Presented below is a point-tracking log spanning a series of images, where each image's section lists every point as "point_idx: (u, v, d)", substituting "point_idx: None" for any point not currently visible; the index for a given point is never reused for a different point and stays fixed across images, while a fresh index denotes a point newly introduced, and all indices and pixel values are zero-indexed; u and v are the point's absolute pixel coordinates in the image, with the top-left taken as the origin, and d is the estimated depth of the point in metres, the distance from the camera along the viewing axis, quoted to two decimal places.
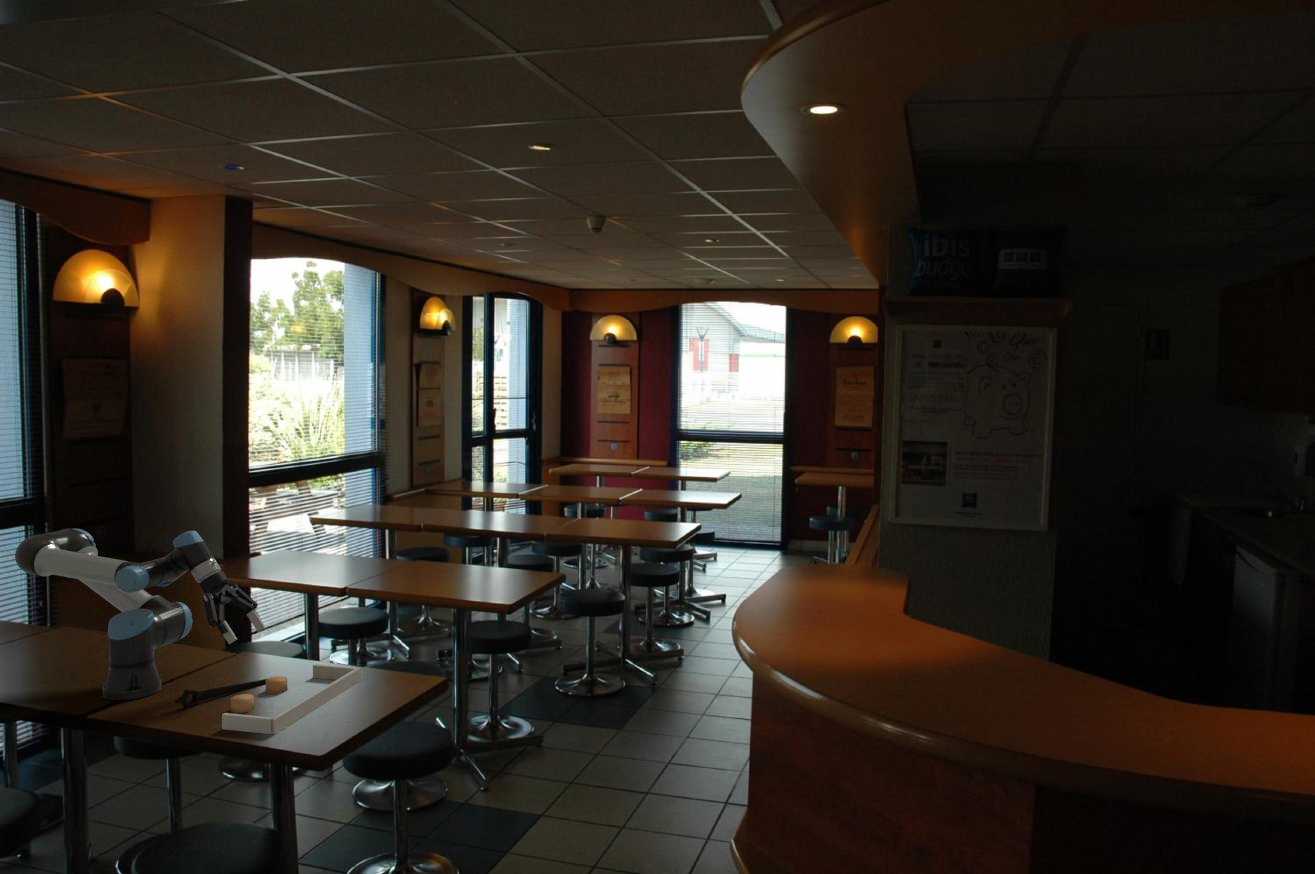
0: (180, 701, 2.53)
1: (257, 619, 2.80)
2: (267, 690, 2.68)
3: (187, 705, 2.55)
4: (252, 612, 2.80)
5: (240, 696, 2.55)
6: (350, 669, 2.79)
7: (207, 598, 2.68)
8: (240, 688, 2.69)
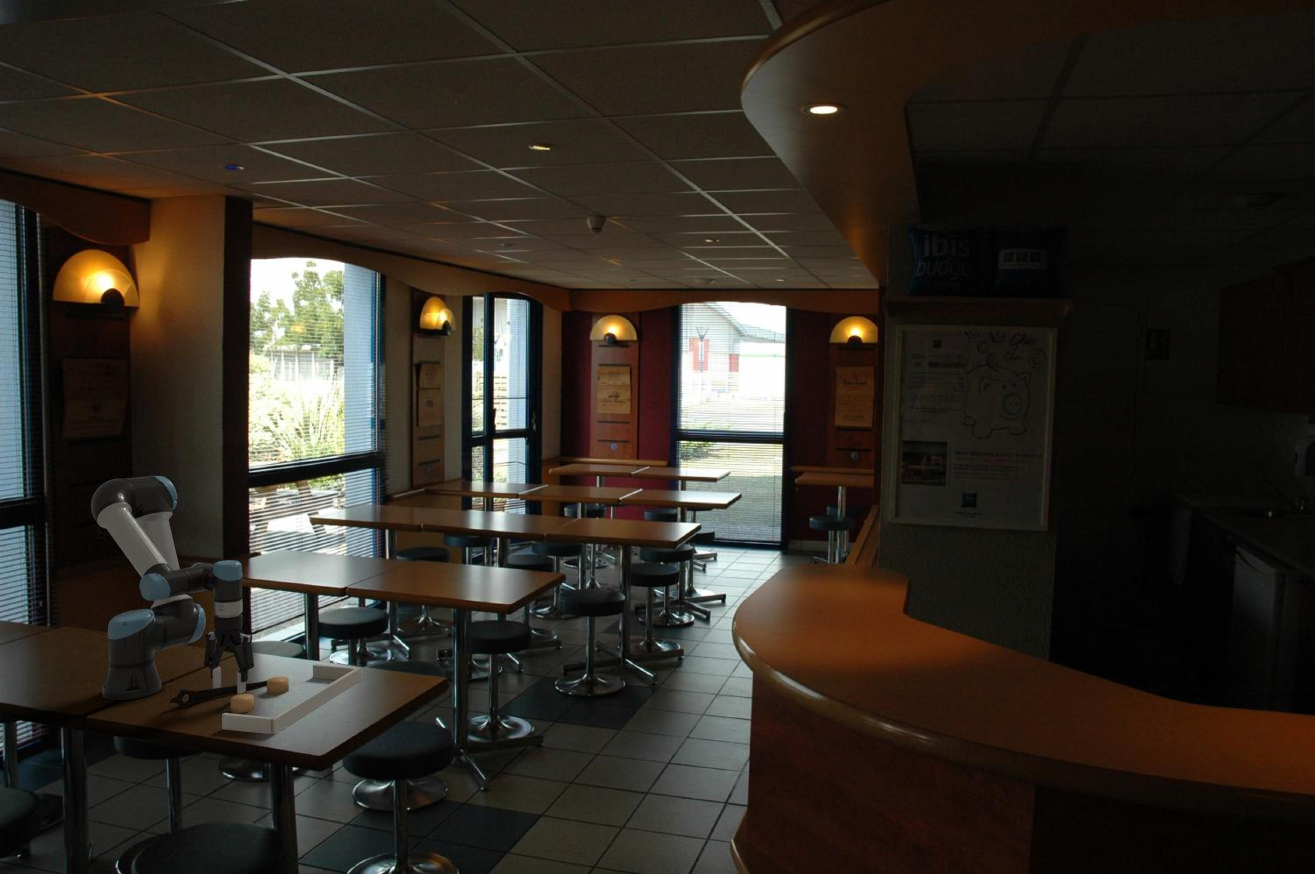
0: (175, 701, 2.53)
1: None
2: (268, 690, 2.67)
3: (182, 705, 2.55)
4: None
5: (240, 696, 2.55)
6: (350, 669, 2.79)
7: None
8: None
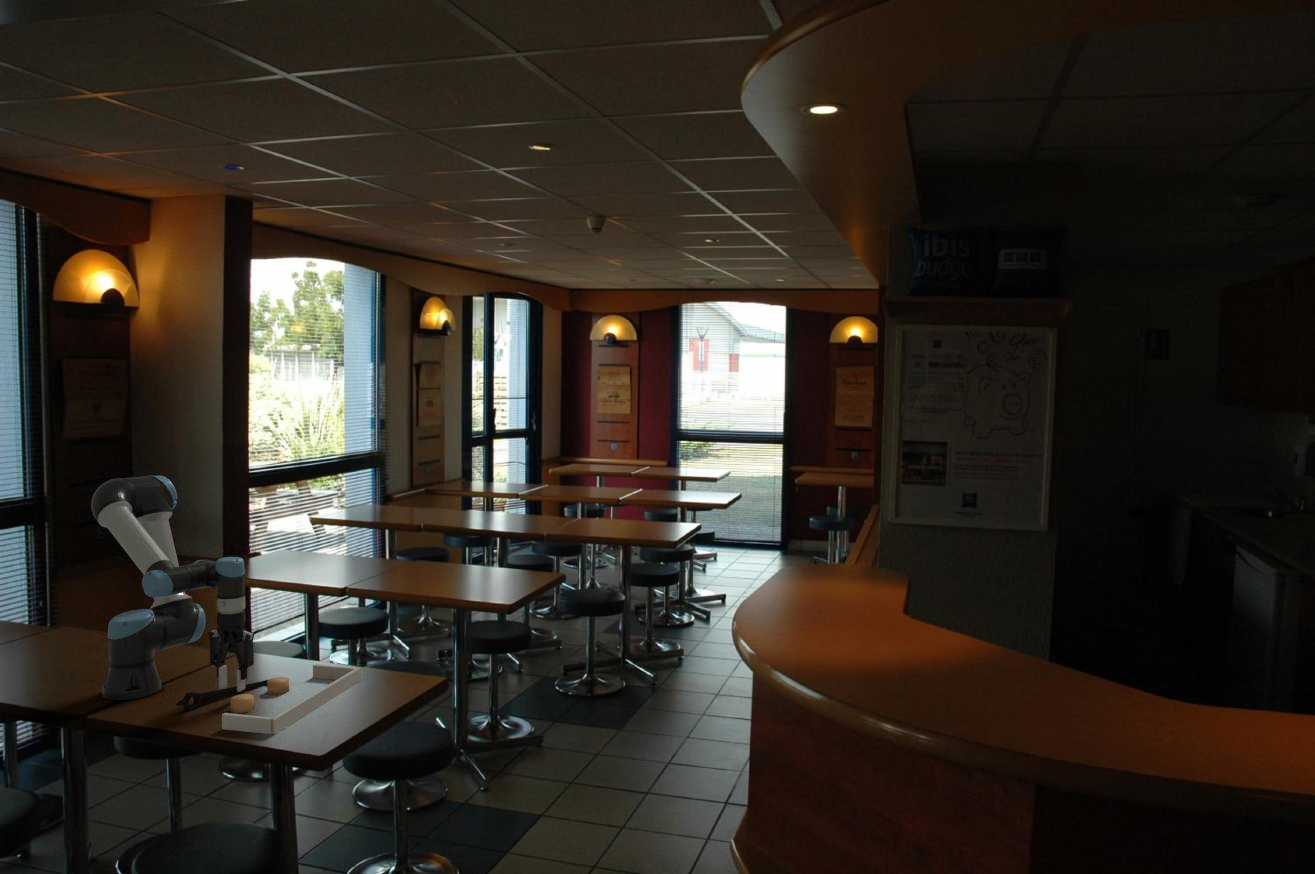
0: (182, 704, 2.51)
1: None
2: (268, 691, 2.67)
3: (189, 708, 2.53)
4: None
5: (240, 696, 2.55)
6: (350, 669, 2.79)
7: None
8: None
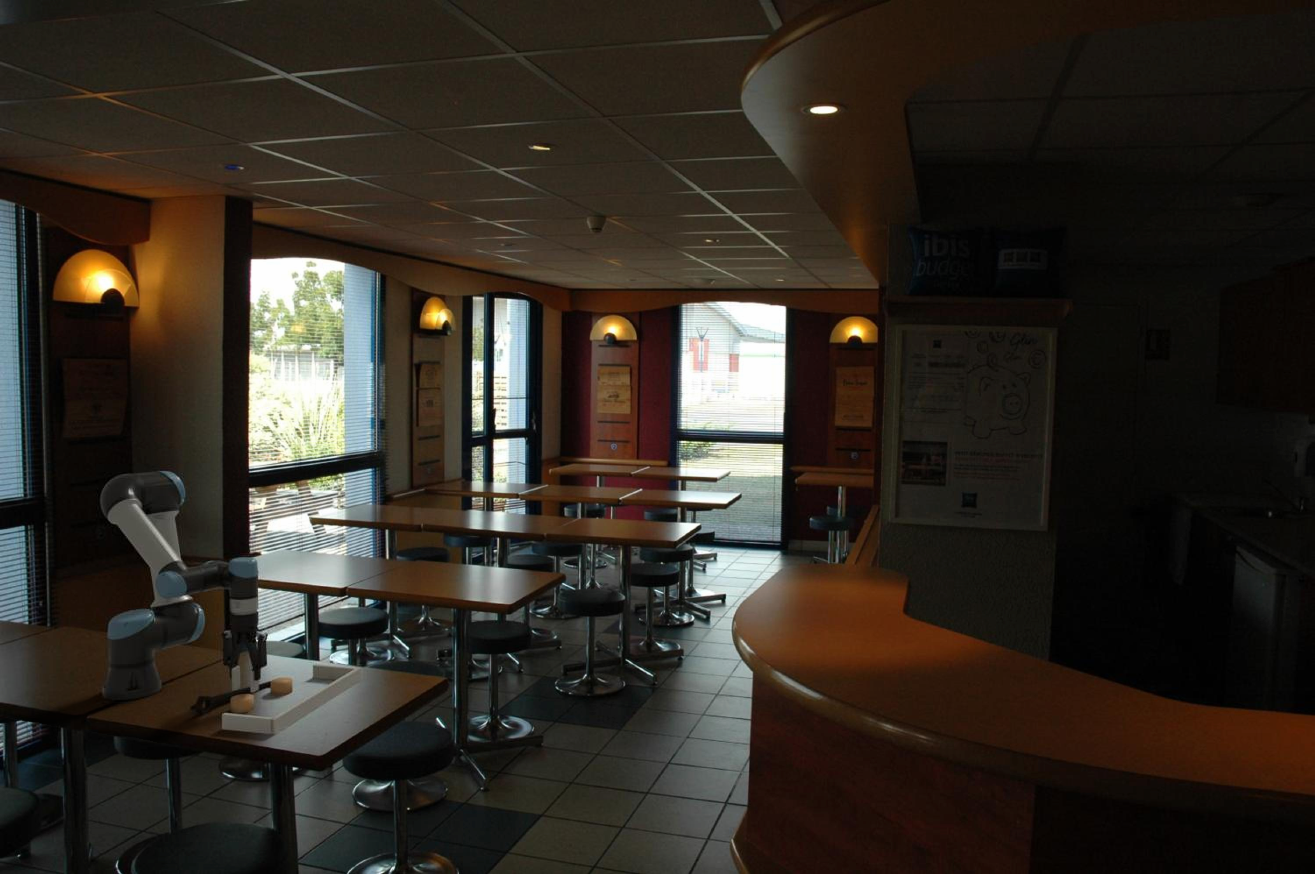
0: (197, 708, 2.48)
1: None
2: (271, 691, 2.67)
3: (203, 711, 2.50)
4: None
5: (240, 696, 2.55)
6: (350, 669, 2.79)
7: None
8: (247, 692, 2.65)
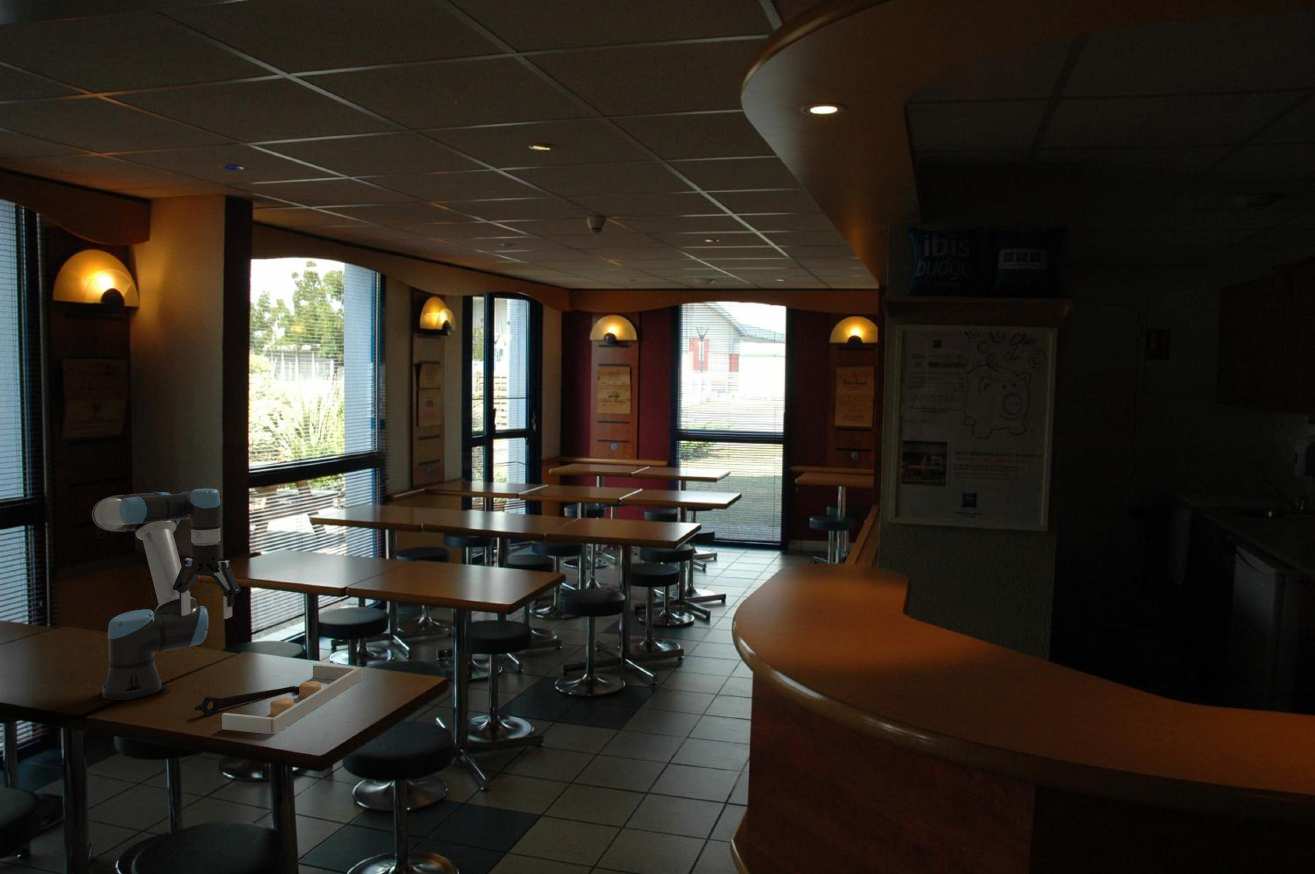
0: (200, 708, 2.47)
1: None
2: (299, 694, 2.65)
3: (207, 712, 2.49)
4: None
5: (280, 700, 2.53)
6: (350, 669, 2.79)
7: None
8: (263, 696, 2.63)
